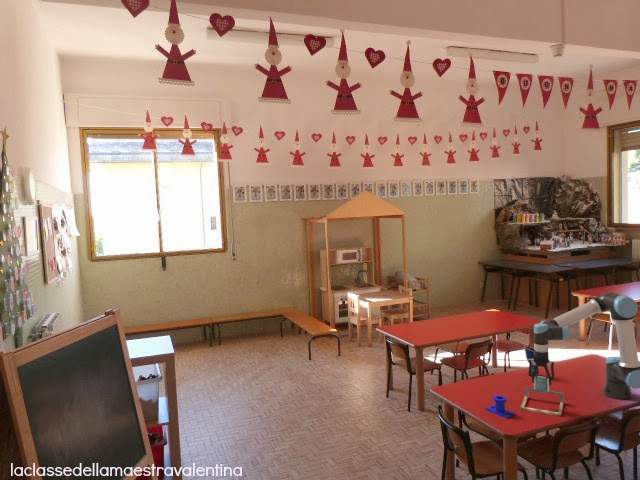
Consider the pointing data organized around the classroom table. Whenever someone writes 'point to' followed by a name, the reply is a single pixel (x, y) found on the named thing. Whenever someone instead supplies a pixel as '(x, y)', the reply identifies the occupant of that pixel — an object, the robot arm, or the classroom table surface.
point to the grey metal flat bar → (545, 392)
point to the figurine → (530, 355)
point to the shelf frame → (541, 410)
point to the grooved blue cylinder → (541, 383)
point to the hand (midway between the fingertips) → (541, 389)
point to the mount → (500, 407)
